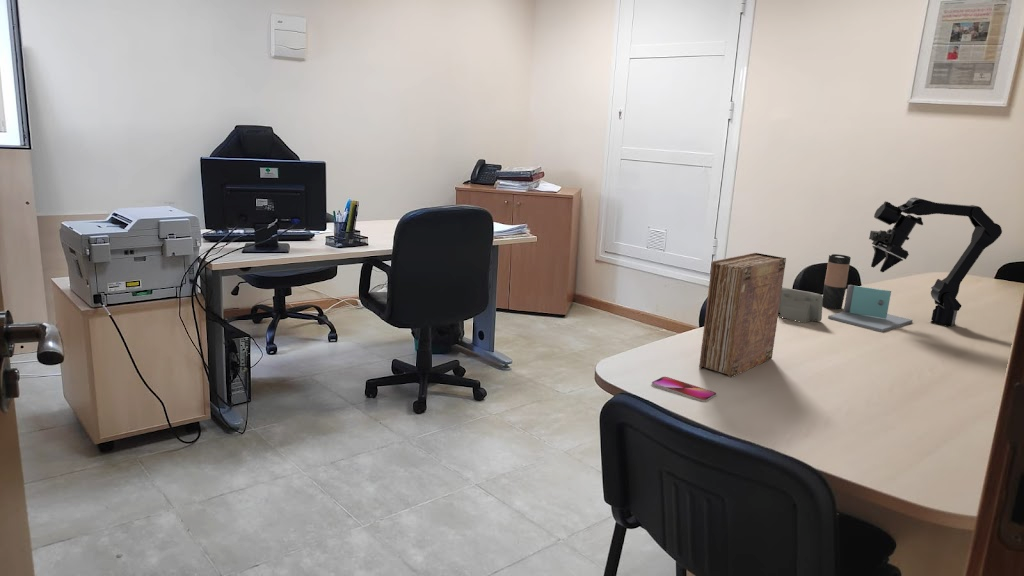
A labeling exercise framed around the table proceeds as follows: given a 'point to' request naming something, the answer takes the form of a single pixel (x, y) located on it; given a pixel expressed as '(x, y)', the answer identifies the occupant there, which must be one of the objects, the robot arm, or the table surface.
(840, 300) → the travel mug
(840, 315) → the base board
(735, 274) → the book
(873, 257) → the robot arm
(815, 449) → the table surface
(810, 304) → the digital clock
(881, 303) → the door
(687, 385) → the smartphone
